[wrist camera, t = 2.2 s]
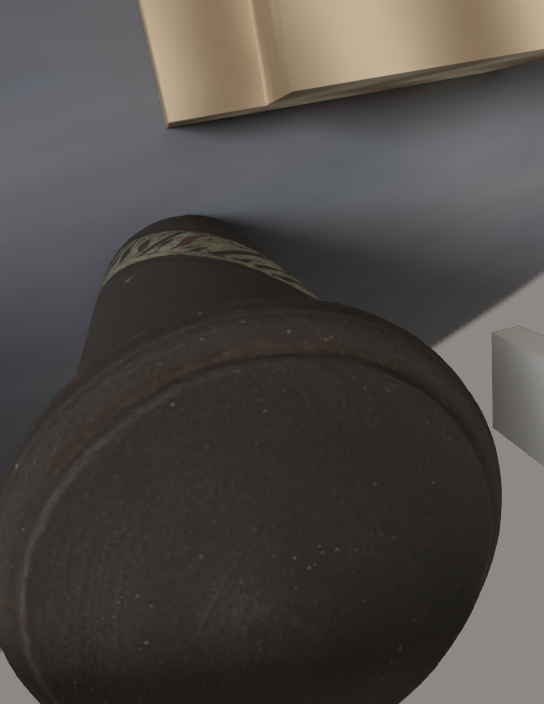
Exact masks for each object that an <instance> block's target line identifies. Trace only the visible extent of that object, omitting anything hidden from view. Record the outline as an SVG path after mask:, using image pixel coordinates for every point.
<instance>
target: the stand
mask: <svg viewBox="0 0 544 704" xmlns="http://www.w3.org/2000/svg"><path fill="white" fill-rule="evenodd" d="M137 2H138V7H139V11H140V15H141V20H142V24H143V28H144V33H145V37H146V41H147V46H148V50H149V54H150V59H151V63H152V68H153V72H154V76H155V81H156V85H157V89H158V94H159V98H160V102H161V107H162V111H163V116H164V120H165V124H166V128H171V127H177V126H182V125H188V124H194V123H200V122H205V121H211V120H217V119H223V118H228V117H234V116H240V115H246V114H251V113H257V112H263V111H268V110H274V109H280V108H286V107H291V106H297V105H303V104H309V103H314V102H320V101H326V100H332V99H337V98H343V97H349V96H354V95H360V94H366V93H372V92H377V91H383V90H389V89H395V88H400V87H406V86H412V85H418V84H423V83H429V82H435V81H440V80H446V79H452V78H458V77H463V76H469V75H475V74H481V73H486V72H492V71H498V70H503V69H507V68H511V67H515V66H518V65H522V64H525V63H529V62H532V61H536V60H539V59H543V58H544V0H137Z"/></svg>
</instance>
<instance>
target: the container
mask: <svg viewBox="0 0 544 704" xmlns="http://www.w3.org/2000/svg"><path fill="white" fill-rule="evenodd" d="M501 489H502V488H501V476H500V468H499V463H498V457H497V452H496V448H495V444H494V441H493V437H492V435H491V432H490V430H489V427H488V425H487V422H486V420H485V418H484V416H483V413H482V411H481V410H480V408H479V406H478V404H477V403H476V401H475V400H474V398H473V396H472V395H471V393H470V392H469V391H468V389H467V388H466V386H465V385H464V384H463V382H462V380H461V379H460V378H459V376H458V375H457V374H456V373H455V372H454V371H453V369H452V368H451V367H450V366H449V365H448V364H447V363H446V362H445V361H444V360H443V359H442V358H441V357H440V356H439V355H438V354H437V353H436V352H435V351H433V350H432V349H431V348H430V347H428V346H427V345H426V344H425V343H423V342H422V341H421V340H420V339H418V338H417V337H415V336H414V335H412V334H411V333H409V332H408V331H406V330H404V329H402V328H400V327H398V326H397V325H395V324H393V323H391V322H389V321H387V320H385V319H382V318H380V317H378V316H375V315H373V314H370V313H368V312H365V311H361V310H359V309H356V308H352V307H349V306H344V305H341V304H338V303H333V302H327V301H322V300H321V299H320V298H319V297H318V296H316V295H315V294H314V293H313V292H311V291H310V290H309V289H308V288H307V287H306V286H304V285H303V284H302V283H301V282H300V281H299V280H297V279H296V278H295V277H293V276H292V275H291V274H290V273H288V272H287V271H286V270H284V269H283V268H282V267H280V266H279V265H278V264H276V263H275V262H274V261H272V260H271V259H270V258H269V257H268V256H266V255H265V254H264V253H263V252H262V251H260V250H259V249H258V248H257V247H255V246H254V245H253V244H252V243H251V242H250V241H248V240H247V239H246V238H245V237H243V236H242V235H241V234H240V233H238V232H237V231H235V230H234V229H232V228H231V227H229V226H227V225H226V224H224V223H222V222H220V221H217V220H215V219H212V218H208V217H204V216H197V215H185V216H179V217H171V218H168V219H164V220H161V221H158V222H156V223H153V224H151V225H149V226H148V227H146V228H144V229H143V230H141V231H140V232H138V233H137V234H135V235H134V236H133V237H132V238H130V239H129V240H128V241H127V242H126V243H125V244H124V245H123V246H122V247H121V248H120V250H119V251H118V252H117V254H116V255H115V257H114V258H113V260H112V262H111V264H110V266H109V268H108V270H107V272H106V274H105V277H104V279H103V282H102V286H101V288H100V292H99V295H98V298H97V302H96V306H95V310H94V313H93V317H92V321H91V325H90V328H89V331H88V334H87V337H86V341H85V345H84V349H83V353H82V356H81V360H80V364H79V368H78V372H77V375H76V377H74V378H73V379H72V381H71V382H70V383H69V384H68V385H67V386H66V387H64V388H63V389H62V390H61V391H60V392H59V393H58V394H57V395H56V396H55V397H54V398H53V399H52V401H51V402H50V403H49V404H48V405H47V407H46V408H45V409H44V410H43V411H42V413H41V414H40V415H39V416H38V418H37V419H36V420H35V422H34V423H33V424H32V426H31V427H30V429H29V430H28V432H27V434H26V435H25V437H24V438H23V440H22V442H21V443H20V445H19V447H18V448H17V450H16V452H15V454H14V455H13V457H12V459H11V461H10V463H9V465H8V468H7V470H6V472H5V474H4V476H3V479H2V482H1V485H0V645H1V648H2V650H3V652H4V654H5V656H6V659H7V660H8V662H9V664H10V666H11V667H12V669H13V670H14V672H15V674H16V675H17V677H18V678H19V679H20V681H21V682H22V683H23V684H24V686H25V687H26V688H27V689H28V690H29V692H30V693H31V694H32V695H33V696H34V697H35V698H36V699H37V700H38V702H39V703H40V704H399V703H400V702H401V701H403V699H405V698H406V697H407V696H408V695H409V694H410V693H411V692H412V691H413V690H414V689H416V688H417V687H418V686H419V685H420V684H421V683H422V682H423V681H424V680H425V679H426V678H427V676H428V675H429V674H430V673H431V672H432V671H433V670H434V669H435V668H436V666H437V665H438V663H439V662H440V661H441V659H442V658H443V657H444V656H445V654H446V653H447V651H448V650H449V648H450V647H451V646H452V644H453V643H454V641H455V640H456V638H457V636H458V635H459V633H460V632H461V630H462V629H463V627H464V625H465V623H466V622H467V620H468V618H469V616H470V614H471V612H472V610H473V608H474V605H475V603H476V601H477V599H478V597H479V593H480V591H481V589H482V587H483V585H484V582H485V580H486V577H487V575H488V572H489V569H490V566H491V563H492V560H493V557H494V553H495V549H496V545H497V541H498V536H499V529H500V521H501V506H502V490H501Z"/></svg>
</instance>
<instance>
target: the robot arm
mask: <svg viewBox="0 0 544 704" xmlns="http://www.w3.org/2000/svg"><path fill="white" fill-rule="evenodd" d="M492 386H493V428H494V429H496V430H497V431H498V432H499V433H501V434H502V435H503V436H505V437H506V438H507V439H509V440H510V441H511V442H513V443H514V444H515V445H517V446H518V447H519V448H521V449H522V450H524V451H525V452H526V453H527V454H529V455H530V456H532V457H533V458H534V459H535V460H537V461H538V462H539V463H541V464H542V465H543V466H544V336H542V335H540V334H538V333H535V332H533V331H531V330H528V329H526V328H524V327H521V326H516V327H512V328H508V329H504V330H500V331H496V332H492Z"/></svg>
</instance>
